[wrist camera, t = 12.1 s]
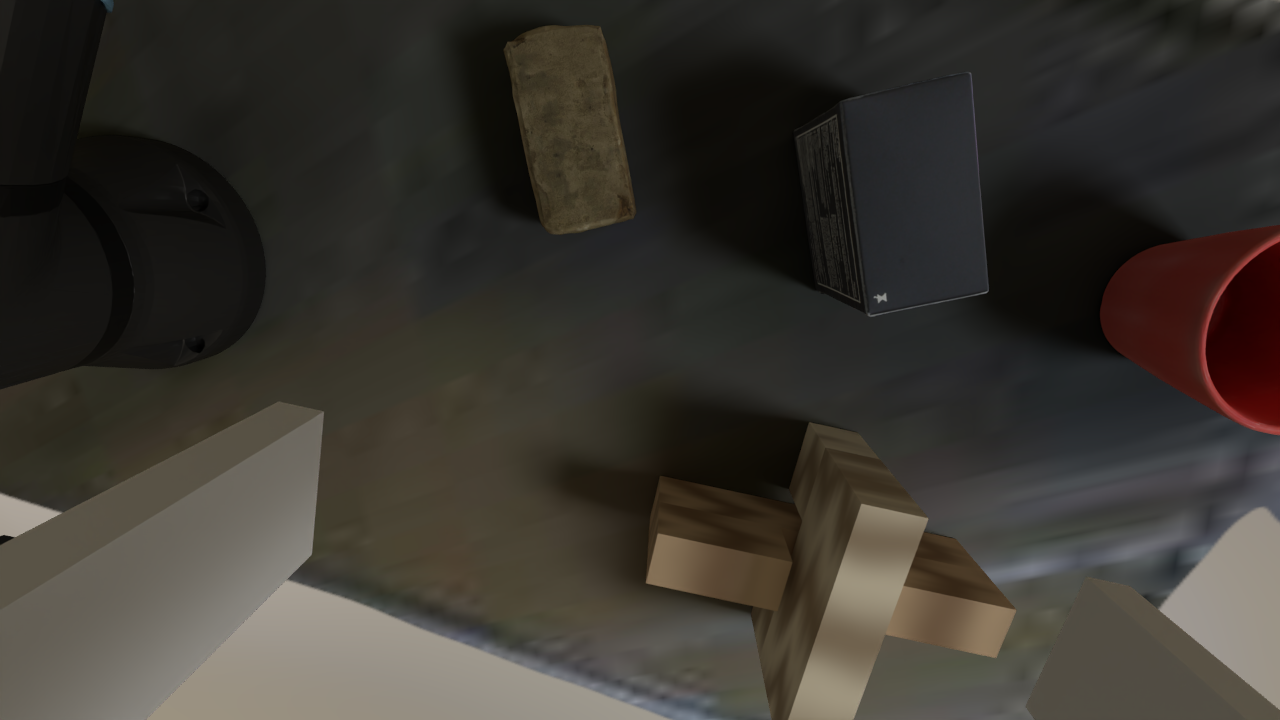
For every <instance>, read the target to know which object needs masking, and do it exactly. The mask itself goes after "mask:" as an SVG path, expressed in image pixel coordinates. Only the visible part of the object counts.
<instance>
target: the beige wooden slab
mask: <svg viewBox="0 0 1280 720" xmlns="http://www.w3.org/2000/svg"><path fill="white" fill-rule="evenodd" d="M789 491H790V493H791V495H792V498H793V500H794V502H795V505H796V507H797V510H798V512H799V514H800V517H801V519H802V524H801V527H800V530H799V533H798V536H797V540H796V543H795V546H794V549H793V552H792V555H791V559H792V561H793V563H792V566H791V569H790V573H789V576H788V579H787V582H786V585H785V589H784V592H783V595H782V598H781V601H780V605H779V608H778V611H773V610H769V609H764V608H759V607H754V606H753V609H752V612H751V617H752V622H753V627H754V632H755V637H756V642H757V647H758V652H759V658H760V663H761V668H762V673H763V678H764V683H765V688H766V693H767V698H768V703H769V708H770V713H771V718H772V720H853V719H854V717H855V714H856V711H857V709H858V706H859V703H860V701H861V698H862V695H863V693H864V690H865V687H866V685H867V682H868V679H869V677H870V674H871V671H872V668H873V666H874V663H875V660H876V658H877V655H878V652H879V650H880V647H881V644H882V642H883V639H884V636H885V634H886V631H887V628H888V626H889V623H890V620H891V618H892V615H893V612H894V610H895V607H896V604H897V602H898V599H899V596H900V594H901V591H902V588H903V585H904V583H905V580H906V577H907V575H908V572H909V569H910V567H911V564H912V561H913V559H914V556H915V553H916V551H917V548H918V545H919V543H920V540H921V537H922V535H923V532H924V529H925V527H926V524H927V521H928V519H929V518H928V517H927V516H926V515H925V514H924V512H923V511H922V510H921V509H920V507H919V506H918V505H917V504H916V503H915V501H914V500H913V499H912V498H911V497H910V495H909V494H908V493H907V492H906V490H905V489H904V488H903V487H902V486H901V484H900V483H899V482H898V481H897V480H896V478H895V477H894V476H893V475H892V474H891V472H890V471H889V470H888V469H887V467H886V466H885V465H884V464H883V463H882V461H881V460H880V459H879V458H878V457H877V455H876V454H875V453H874V452H873V450H872V449H871V448H870V447H869V446H868V444H867V443H866V442H865V441H864V440H863V438H862V437H861V436H860V435H859V434H858V433H857V432H852V431H848V430H843V429H838V428H834V427H829V426H825V425H820V424H816V423H811V422H809V424H808V427H807V431H806V434H805V437H804V441H803V444H802V447H801V451H800V454H799V457H798V460H797V464H796V467H795V470H794V474H793V477H792V480H791V483H790V487H789Z"/></svg>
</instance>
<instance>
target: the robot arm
mask: <svg viewBox="0 0 1280 720" xmlns="http://www.w3.org/2000/svg"><path fill="white" fill-rule="evenodd" d="M113 5H114V3H113V0H0V389H4V388H7V387H10V386H14V385H17V384H21V383H24V382H28V381H31V380H34V379H38V378H41V377H45V376H48V375H52V374H55V373H58V372H61V371H65V370H69V369H72V368H76V367H80V366H98V367H118V368H139V369H165V368H172V367H178V366H183V365H186V364H190V363H193V362H196V361H199V360H202V359H205V358H208V357H211V356H213V355H216V354H218V353H220V352H222V351H224V350H225V349H227V348H229V347H230V346H231V345H233V344H234V343H235V342H236V341H238V340H239V339H240V338H241V337H242V336H243V335H244V333H245V332H246V331H247V330H248V328H249V327H250V325H251V324H252V322H253V321H254V319H255V317H256V315H257V313H258V310H259V308H260V305H261V302H262V298H263V294H264V288H265V278H266V269H265V257H264V251H263V246H262V242H261V239H260V235H259V233H258V230H257V227H256V225H255V222H254V220H253V218H252V216H251V214H250V212H249V210H248V209H247V207H246V205H245V204H244V202H243V201H242V199H241V198H240V196H239V195H238V194H237V192H236V191H235V190H234V188H233V187H232V186H231V185H230V184H229V183H228V182H227V181H226V180H225V179H224V178H223V177H222V176H221V175H220V174H219V173H218V172H217V171H216V170H215V169H214V168H212V167H211V166H210V165H208V164H207V163H206V162H204V161H203V160H201V159H200V158H198V157H197V156H195V155H193V154H192V153H190V152H188V151H186V150H184V149H181V148H179V147H177V146H174V145H171V144H168V143H165V142H161V141H156V140H151V139H143V138H135V137H127V136H117V135H105V136H92V137H86V138H81V139H77V134H78V130H79V126H80V122H81V118H82V114H83V109H84V105H85V101H86V97H87V93H88V88H89V84H90V80H91V76H92V72H93V67H94V63H95V59H96V55H97V51H98V47H99V42H100V38H101V34H102V30H103V26H104V21H105V17H106V13H107V12H108V13H112V10H113ZM76 139H77V140H76ZM323 417H324V411H319V410H315V409H310V408H305V407H301V406H296V405H292V404H287V403H282V402H277V403H275V404H273V405H271V406H269V407H267V408H265V409H263V410H262V411H260V412H258V413H256V414H254V415H252V416H250V417H248V418H246V419H244V420H242V421H240V422H238V423H236V424H234V425H232V426H231V427H229V428H227V429H225V430H223V431H221V432H219V433H217V434H215V435H213V436H211V437H209V438H207V439H205V440H203V441H201V442H199V443H198V444H196V445H194V446H192V447H190V448H188V449H186V450H184V451H182V452H180V453H178V454H176V455H174V456H172V457H170V458H168V459H167V460H165V461H163V462H161V463H159V464H157V465H155V466H153V467H151V468H149V469H147V470H145V471H143V472H141V473H139V474H137V475H135V476H134V477H132V478H130V479H128V480H126V481H124V482H122V483H120V484H118V485H116V486H114V487H112V488H110V489H108V490H106V491H104V492H102V493H101V494H99V495H97V496H95V497H93V498H91V499H89V500H87V501H85V502H83V503H81V504H79V505H77V506H75V507H73V508H71V509H70V510H68V511H66V512H64V513H62V514H60V515H58V516H56V517H54V518H52V519H50V520H48V521H46V522H45V523H43V524H41V525H38V526H37V527H35V528H33V529H31V530H29V531H27V532H25V533H23V534H21V535H19V536H17V537H11V536H5V535H3V536H0V720H146V719H147V718H148V717H149V716H150V715H151V714H152V713H153V712H154V711H155V710H156V709H157V708H158V707H159V706H160V705H161V704H162V703H163V702H164V701H165V700H166V699H167V698H168V697H169V696H170V695H171V694H172V693H173V692H174V691H175V690H176V689H177V688H178V687H179V686H180V685H181V684H182V683H183V682H184V681H185V680H186V679H187V678H188V677H189V676H190V675H191V674H192V673H193V672H194V671H195V670H196V669H197V668H198V667H199V666H200V665H201V664H202V663H203V662H204V661H205V660H206V659H207V658H208V657H209V656H210V655H211V654H212V653H213V652H214V651H215V650H216V649H217V648H218V647H219V646H220V645H221V644H222V643H223V642H224V641H225V640H226V639H227V638H228V637H229V636H230V635H231V634H232V633H233V632H234V631H235V630H236V629H237V628H238V627H239V626H240V625H241V624H242V623H243V622H244V621H245V620H246V619H248V617H249V616H250V615H252V614H253V612H255V610H257V609H258V607H259V606H261V605H262V603H264V602H265V601H266V600H267V598H268V597H270V596H271V594H272V593H274V592H275V591H276V589H277V588H279V587H280V586H281V585H282V584H283V583H284V582H285V581H286V580H287V579H288V578H289V577H290V576H291V575H292V574H293V573H294V572H295V571H296V570H297V569H298V568H299V567H300V566H301V565H302V564H303V563H304V562H305V561H306V560H307V559H308V558H309V557H310V556H311V555H312V545H313V534H314V522H315V511H316V499H317V487H318V476H319V464H320V452H321V441H322V429H323ZM1026 708H1027V709H1028V711H1029V712H1030V714H1031V715H1032V716H1033V718H1034V719H1035V720H1280V710H1279V709H1278V708H1276V707H1275V706H1274V705H1273V704H1271V703H1270V702H1269V701H1268V700H1267V699H1266V698H1264V697H1263V696H1262V695H1261V694H1259V693H1258V692H1257V691H1256V690H1255V689H1253V688H1252V687H1251V686H1250V685H1249V684H1247V683H1246V682H1245V681H1244V680H1243V679H1241V678H1240V677H1239V676H1238V675H1237V674H1235V673H1234V672H1233V671H1232V670H1230V669H1229V668H1228V667H1227V666H1226V665H1224V664H1223V663H1222V662H1221V661H1220V660H1218V659H1217V658H1216V657H1215V656H1214V655H1212V654H1211V653H1210V652H1209V651H1207V650H1206V649H1205V648H1204V647H1203V646H1201V645H1200V644H1199V643H1198V642H1197V641H1195V640H1194V639H1193V638H1192V637H1191V636H1189V635H1188V634H1187V633H1186V632H1184V631H1183V630H1182V629H1181V628H1180V627H1178V626H1177V625H1176V624H1175V623H1173V622H1172V621H1171V620H1170V619H1169V618H1168V617H1166V616H1165V615H1164V614H1163V613H1161V612H1160V611H1159V610H1158V609H1157V608H1155V607H1154V606H1153V605H1152V604H1151V603H1149V602H1148V601H1147V600H1146V599H1145V598H1143V597H1142V596H1141V595H1140V594H1139V593H1137V592H1136V591H1135V590H1134V589H1133V588H1131V587H1130V586H1127V585H1122V584H1118V583H1113V582H1108V581H1104V580H1099V579H1094V578H1090V577H1086V578H1085V580H1084V582H1083V584H1082V586H1081V589H1080V591H1079V593H1078V595H1077V597H1076V599H1075V602H1074V604H1073V606H1072V608H1071V610H1070V612H1069V614H1068V617H1067V619H1066V621H1065V623H1064V625H1063V627H1062V629H1061V632H1060V634H1059V636H1058V638H1057V640H1056V642H1055V644H1054V647H1053V649H1052V651H1051V653H1050V655H1049V657H1048V659H1047V662H1046V664H1045V666H1044V668H1043V670H1042V672H1041V674H1040V677H1039V679H1038V681H1037V683H1036V685H1035V687H1034V689H1033V692H1032V694H1031V696H1030V698H1029V700H1028V702H1027V704H1026Z"/></svg>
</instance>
